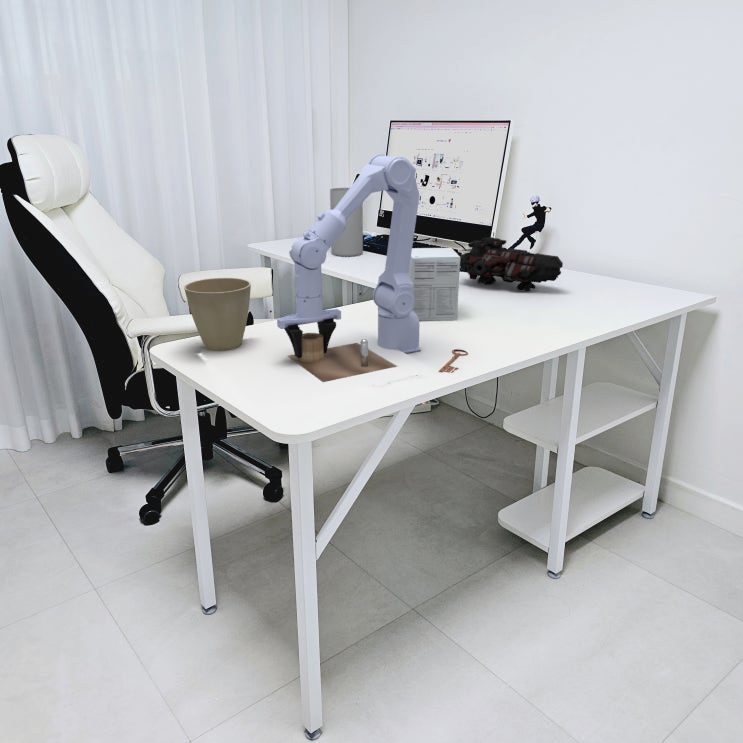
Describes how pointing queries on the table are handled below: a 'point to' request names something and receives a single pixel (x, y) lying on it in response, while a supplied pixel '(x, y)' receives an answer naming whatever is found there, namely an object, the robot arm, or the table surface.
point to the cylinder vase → (348, 228)
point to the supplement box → (435, 283)
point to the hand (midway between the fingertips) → (310, 354)
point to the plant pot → (219, 310)
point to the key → (452, 361)
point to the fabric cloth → (343, 363)
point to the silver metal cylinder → (364, 353)
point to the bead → (312, 347)
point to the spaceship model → (508, 264)
